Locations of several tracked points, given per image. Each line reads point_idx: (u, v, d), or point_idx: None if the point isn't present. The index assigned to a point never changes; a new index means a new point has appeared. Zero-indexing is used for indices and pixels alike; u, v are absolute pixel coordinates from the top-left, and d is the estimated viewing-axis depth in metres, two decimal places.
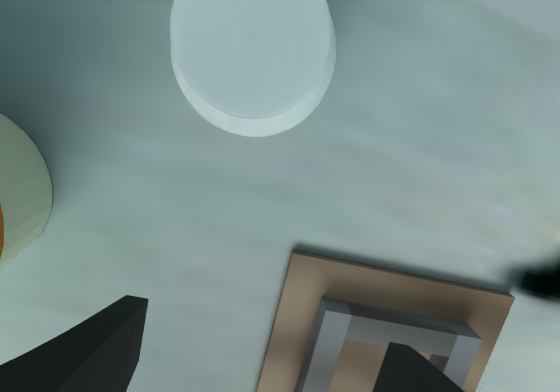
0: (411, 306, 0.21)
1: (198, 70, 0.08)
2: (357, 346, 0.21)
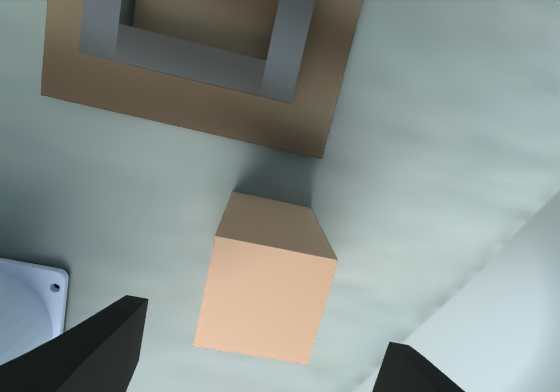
0: None
1: None
2: None
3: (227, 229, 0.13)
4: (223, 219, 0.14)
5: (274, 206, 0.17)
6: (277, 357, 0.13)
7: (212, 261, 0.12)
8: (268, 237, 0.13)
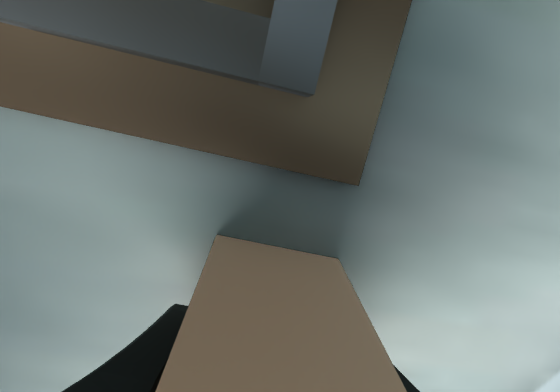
0: None
1: None
2: None
3: (188, 359, 0.06)
4: (186, 321, 0.07)
5: (283, 264, 0.11)
6: None
7: None
8: (277, 374, 0.06)
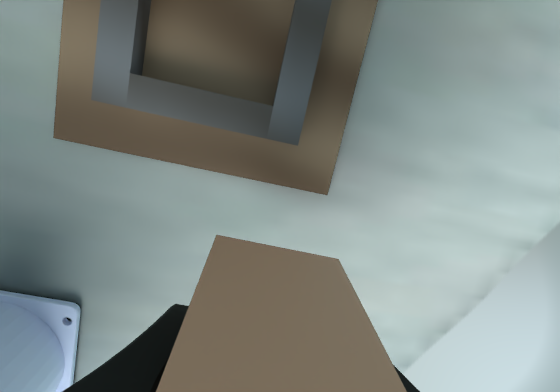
0: None
1: None
2: None
3: (188, 359, 0.06)
4: (186, 322, 0.07)
5: (283, 264, 0.11)
6: None
7: None
8: (277, 375, 0.06)
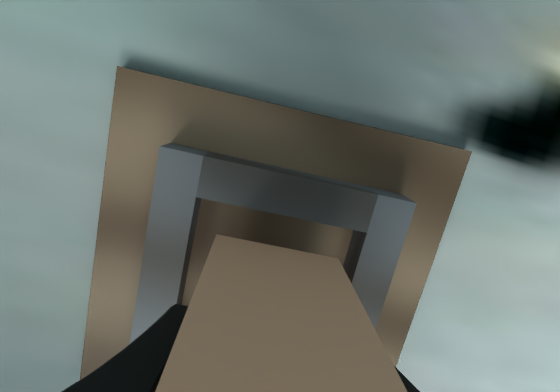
0: (313, 163, 0.14)
1: None
2: (235, 228, 0.14)
3: (188, 358, 0.06)
4: (186, 321, 0.07)
5: (283, 264, 0.11)
6: None
7: None
8: (277, 374, 0.06)
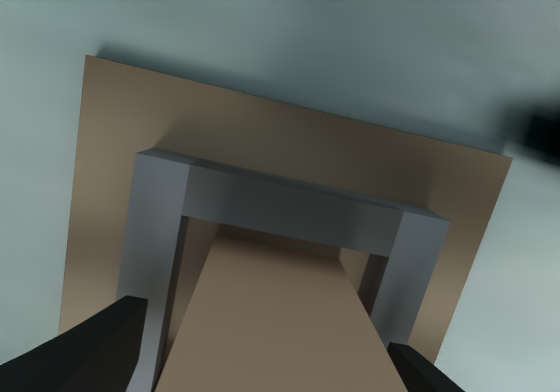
0: (323, 171, 0.11)
1: None
2: None
3: (186, 362, 0.06)
4: (185, 324, 0.07)
5: (283, 265, 0.11)
6: None
7: None
8: (277, 379, 0.06)
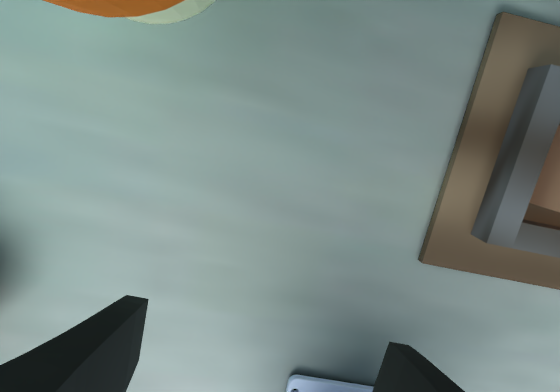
0: None
1: None
2: None
3: None
4: None
5: None
6: None
7: None
8: None
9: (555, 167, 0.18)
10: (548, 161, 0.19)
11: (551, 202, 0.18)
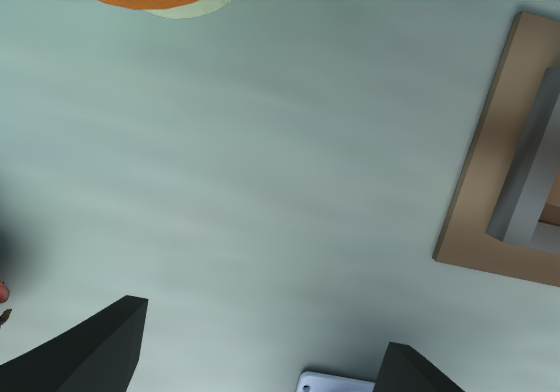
0: None
1: None
2: None
3: None
4: None
5: None
6: None
7: None
8: None
9: None
10: None
11: None
